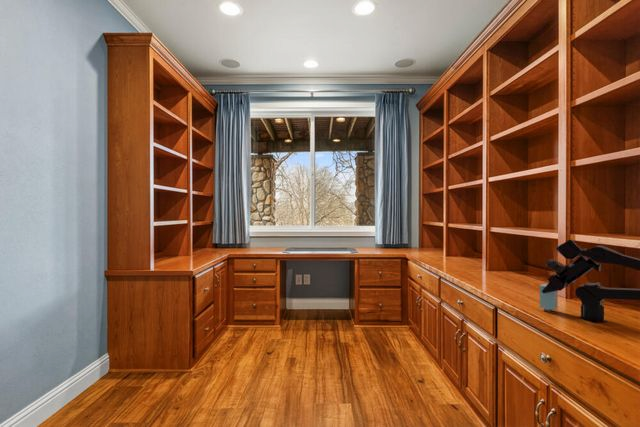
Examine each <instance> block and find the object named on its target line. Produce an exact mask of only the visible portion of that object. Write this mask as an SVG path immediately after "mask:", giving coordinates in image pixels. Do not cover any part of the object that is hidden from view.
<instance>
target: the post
mask: <svg viewBox="0 0 640 427" xmlns="http://www.w3.org/2000/svg"><path fill="white" fill-rule="evenodd" d="M543 311H545V312H546V313H547V312H549V313H552V312H553V311H554V310H551V309H546V308H543Z"/></svg>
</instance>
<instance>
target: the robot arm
mask: <svg viewBox="0 0 640 427" xmlns="http://www.w3.org/2000/svg"><path fill="white" fill-rule="evenodd" d="M555 251H557V252H558V253H559V254H560V255H561V256H562V257H563V258H565V260H566V261H567V260H570V261H572V262H570V263H569V264H567V265H565V264H563V263H562V262H560V261H558V260H556V259H553V258H549V259H548V261H547V262H545V263H546V264H545V267H546V268H548V269H551V270H553V271H555V274H553V273H552V274H550V275H549V276H547V277H546V278H547V280H548V283H546V284H547V286H546V287H545V288H544V289H543V290H542V292H543V293H548V292H553V291H557V292H558V291H559V292H560V291H562V290H564V289H565V288H567V287H569V285H570V286H571V285H573V284H574V283H575V282H576V280H577V281H578V279H580V278H581V277H583V276H584V275H586V274H587V273H588V272H590V271H591V270H593V269H594V270H595V271H596V272H601V270H602V268H601V267H602V264H603V263H604V264H609V265H610V264H612V265H619V266H622V267H627V268H630V269H633V270H635V271H640V258H638V257H633V256H629V255H626V254H623V253H620V252H619V251H617V250H614V249H612V248H610V247H607V246H605V245H597V246H594V247H593V246H592V247H591V248H583V249H582V248H581V247H580V246H579V245H578V244H577V243H576V242H575V241H574V240H573V239H571V238H570V239H568V240H566V241H565V242H563V243H561V244H560V245H558V246H557V247H556V248H555ZM577 257H578V258H577ZM573 260H574V261H573ZM601 263H602V264H601ZM574 294H575V296H576V297H577V298H578V299H579V300H580V302H581V305H580V316H577V318H579V319H581V320H584V321H586V322H589V323H593V324H599V323H608V320H606V319H605V306H604V305H602V304H603V303H604V302H605V299H607V300H609V299H610V300H631V301H640V288H632V287H629V288H626V287H625V288H624V287H606V286H603V285H601V282H590V281H587V282H586V283H582V284H581V285H579V286H578V287H576V289H575V293H574Z"/></svg>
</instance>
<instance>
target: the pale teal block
mask: <svg viewBox="0 0 640 427" xmlns="http://www.w3.org/2000/svg"><path fill="white" fill-rule="evenodd" d="M547 284H548V283H543V284H541V285H539V308H543V309H544V308H546V309H551V310H553V311H555V310H556V309H558V291H553V292H548V293H543V292H542V290H543V289H544V288H545V287H546V286H547Z"/></svg>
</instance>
